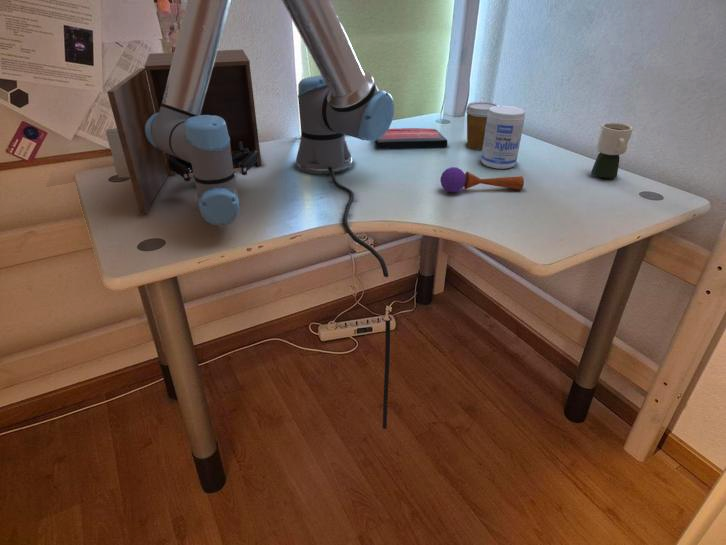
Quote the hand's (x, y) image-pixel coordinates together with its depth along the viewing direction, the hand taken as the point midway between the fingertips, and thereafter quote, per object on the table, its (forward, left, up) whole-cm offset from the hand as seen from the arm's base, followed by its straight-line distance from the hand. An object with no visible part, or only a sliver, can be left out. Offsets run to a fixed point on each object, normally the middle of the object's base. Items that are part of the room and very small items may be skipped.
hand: (212, 149), depth 122 cm
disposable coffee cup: (-2, -77, -8) cm, 77 cm away
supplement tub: (-17, -74, -8) cm, 76 cm away
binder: (+11, -60, -8) cm, 61 cm away
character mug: (-35, -94, -8) cm, 100 cm away
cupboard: (+3, +4, -8) cm, 9 cm away
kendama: (-31, -59, -8) cm, 67 cm away
